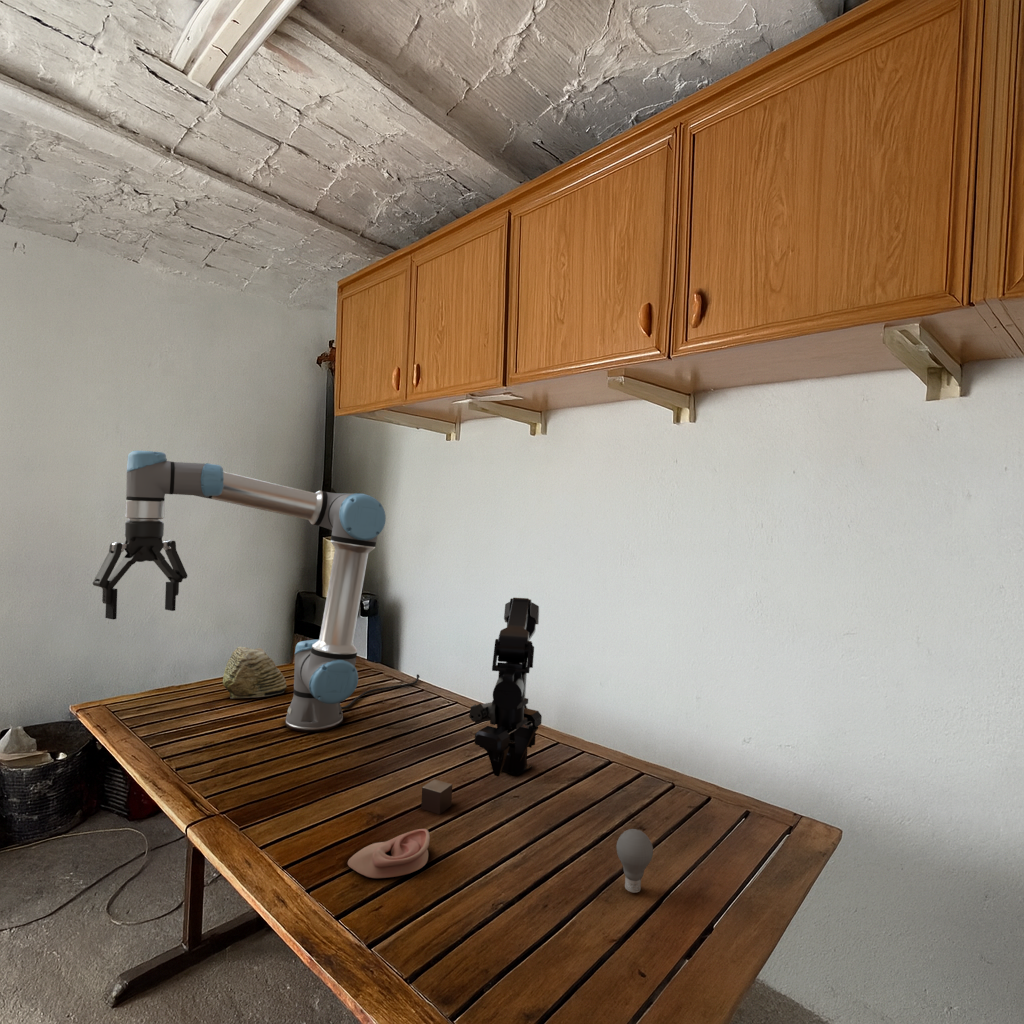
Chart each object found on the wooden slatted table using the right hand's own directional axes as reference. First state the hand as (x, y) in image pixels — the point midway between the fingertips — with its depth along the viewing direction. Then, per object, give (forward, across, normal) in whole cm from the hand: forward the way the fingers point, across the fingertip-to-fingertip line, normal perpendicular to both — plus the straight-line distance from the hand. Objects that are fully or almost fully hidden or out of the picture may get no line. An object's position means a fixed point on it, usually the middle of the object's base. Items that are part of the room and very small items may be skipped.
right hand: (507, 767), depth 133 cm
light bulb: (+8, +14, +32) cm, 36 cm away
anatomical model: (+8, +29, -7) cm, 31 cm away
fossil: (+8, -18, -101) cm, 103 cm away
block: (+8, +9, -12) cm, 17 cm away
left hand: (-27, +32, -78) cm, 89 cm away
